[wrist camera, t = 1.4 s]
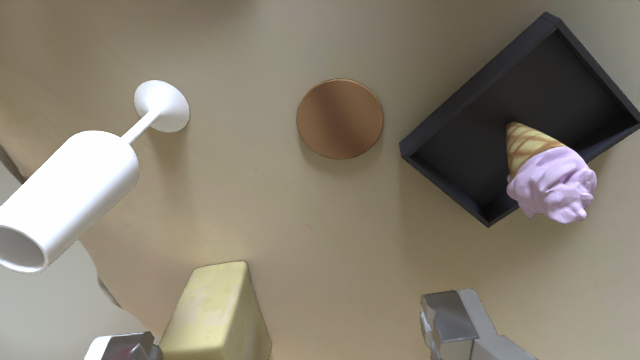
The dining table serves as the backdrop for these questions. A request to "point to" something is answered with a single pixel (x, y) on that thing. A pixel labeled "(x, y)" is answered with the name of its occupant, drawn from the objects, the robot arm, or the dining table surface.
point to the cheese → (217, 318)
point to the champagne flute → (81, 184)
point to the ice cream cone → (547, 175)
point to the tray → (519, 117)
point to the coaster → (339, 119)
